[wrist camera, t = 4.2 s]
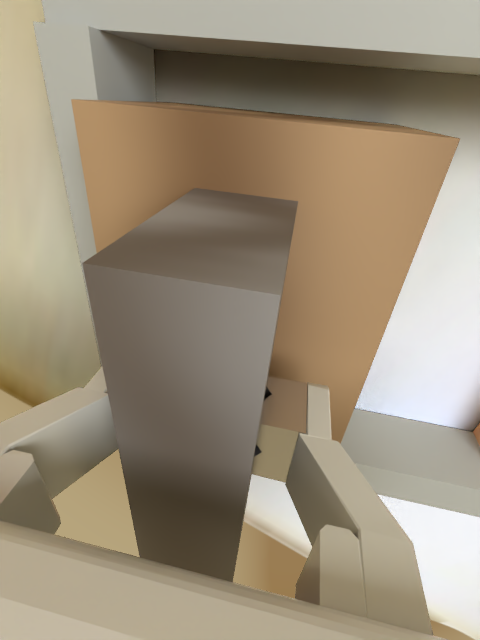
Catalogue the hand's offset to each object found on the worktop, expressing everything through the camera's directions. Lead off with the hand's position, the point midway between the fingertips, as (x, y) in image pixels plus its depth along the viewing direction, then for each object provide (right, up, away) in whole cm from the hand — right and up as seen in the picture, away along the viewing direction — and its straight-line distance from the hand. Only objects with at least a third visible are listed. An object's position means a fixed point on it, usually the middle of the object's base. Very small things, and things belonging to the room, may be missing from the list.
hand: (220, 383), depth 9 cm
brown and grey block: (+1, +4, +6) cm, 8 cm away
